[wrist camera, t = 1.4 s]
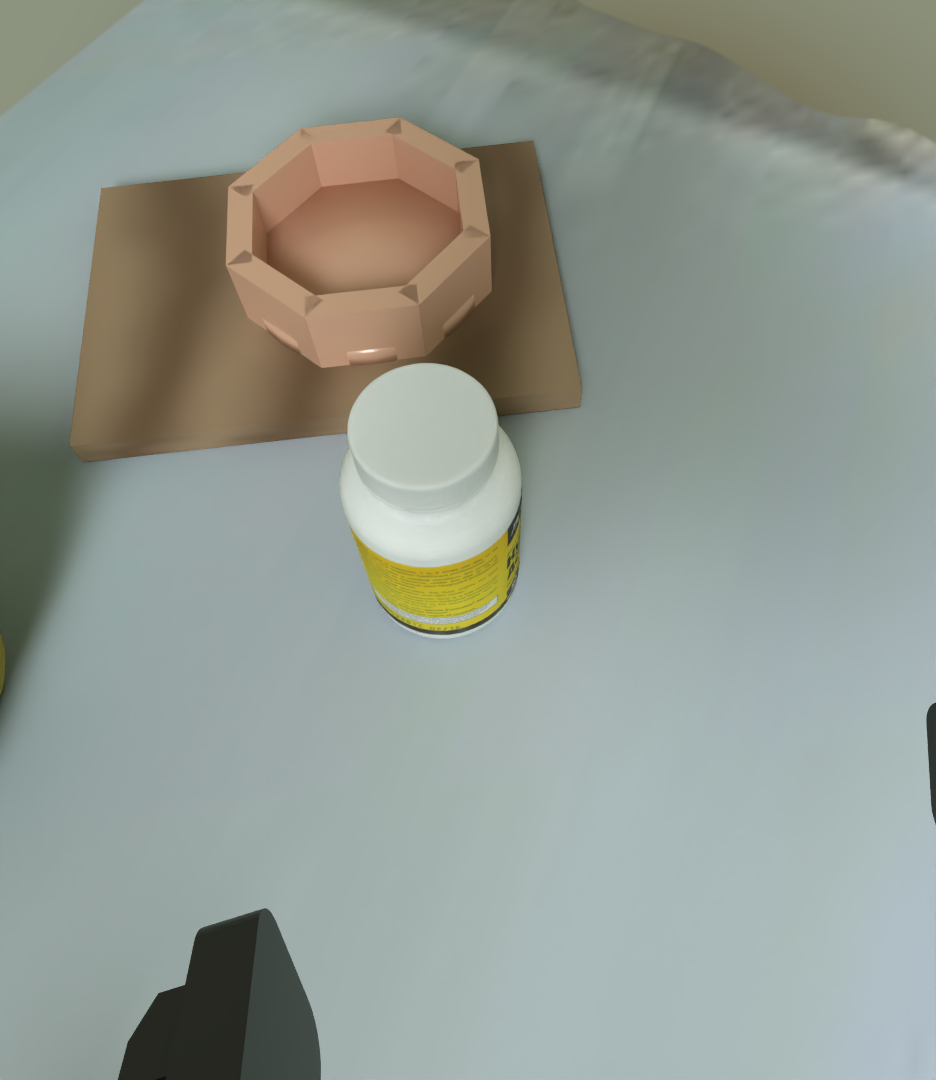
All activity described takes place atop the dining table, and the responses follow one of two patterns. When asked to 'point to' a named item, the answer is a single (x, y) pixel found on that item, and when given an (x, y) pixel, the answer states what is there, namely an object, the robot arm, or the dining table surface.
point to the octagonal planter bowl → (360, 241)
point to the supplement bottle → (433, 499)
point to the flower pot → (2, 664)
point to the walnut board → (261, 360)
